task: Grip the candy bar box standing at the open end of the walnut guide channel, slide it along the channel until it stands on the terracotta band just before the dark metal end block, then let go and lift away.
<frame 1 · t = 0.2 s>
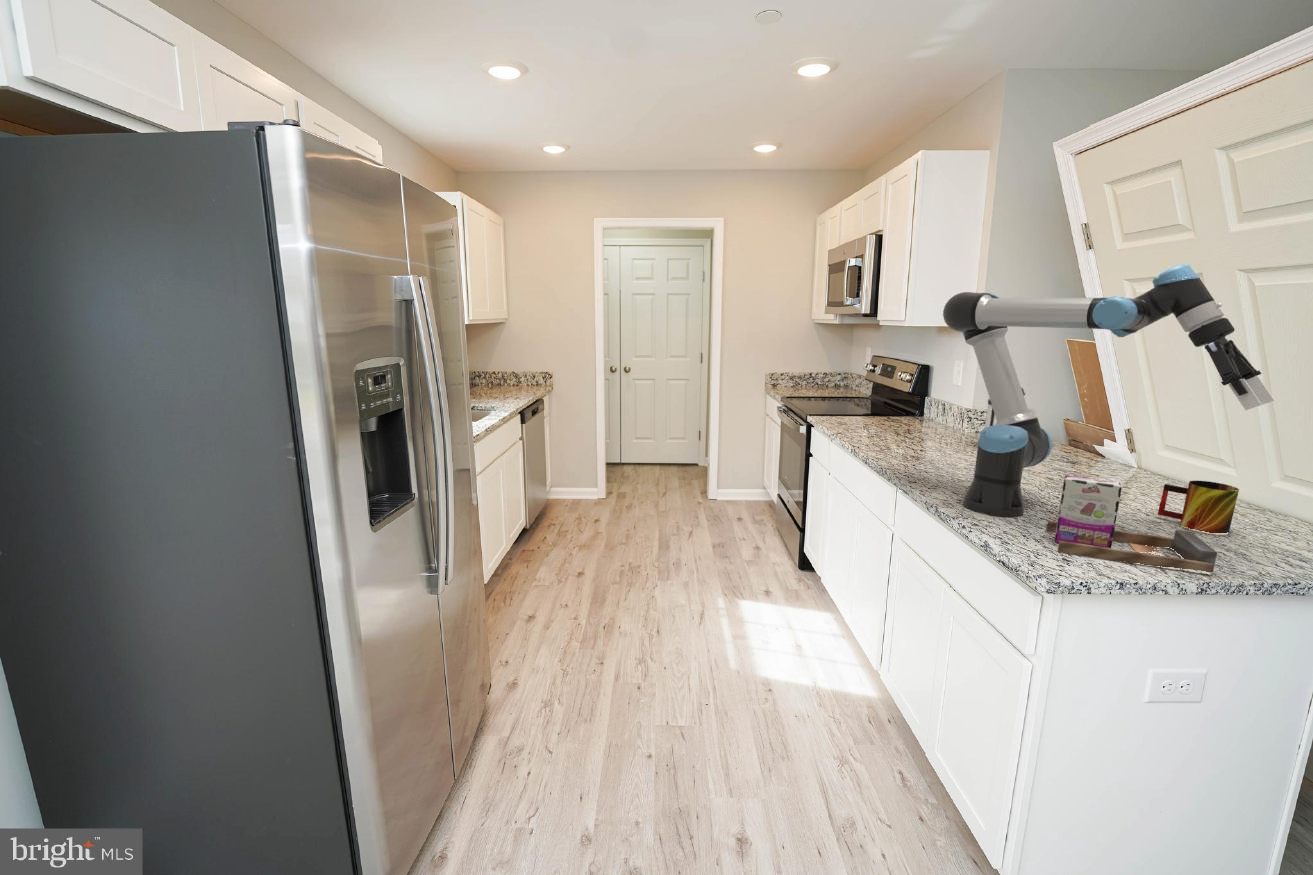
hand: (1260, 405, 134), 35 cm above the countertop, tool tilted 35°, fingers open, 13 cm apart
candy bar box: (1080, 545, 144), on the countertop
mug: (1193, 528, 159), on the countertop
guide channel: (1121, 550, 141), on the countertop
coffee press: (999, 452, 244), on the countertop
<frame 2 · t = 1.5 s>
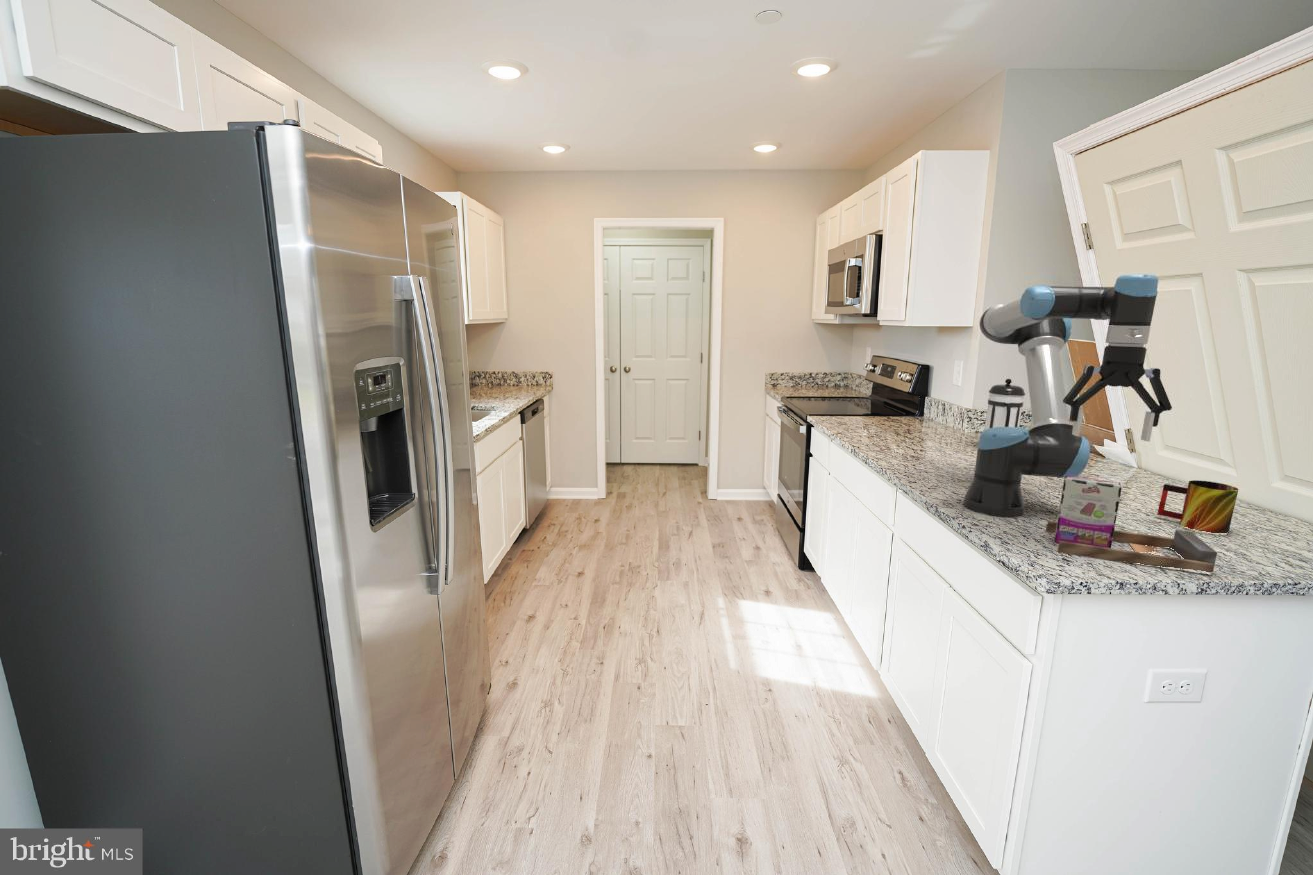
hand: (1109, 437, 138), 27 cm above the countertop, tool pointing down, fingers open, 13 cm apart
nothing on the countertop moved.
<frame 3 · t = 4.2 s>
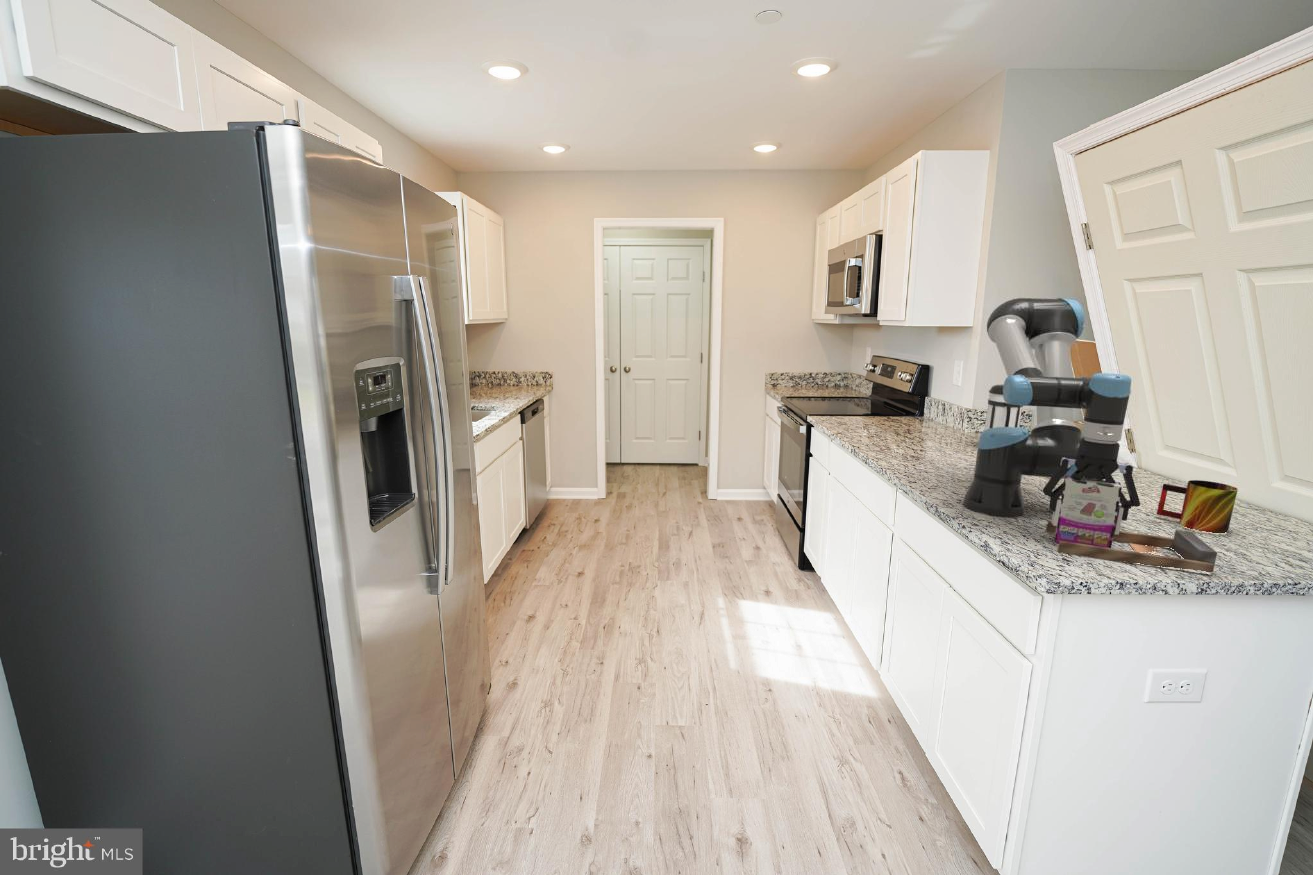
hand: (1084, 528, 143), 4 cm above the countertop, tool pointing down, fingers closed on candy bar box, 12 cm apart
candy bar box: (1081, 545, 144), on the countertop, touching gripper
everything else where it was.
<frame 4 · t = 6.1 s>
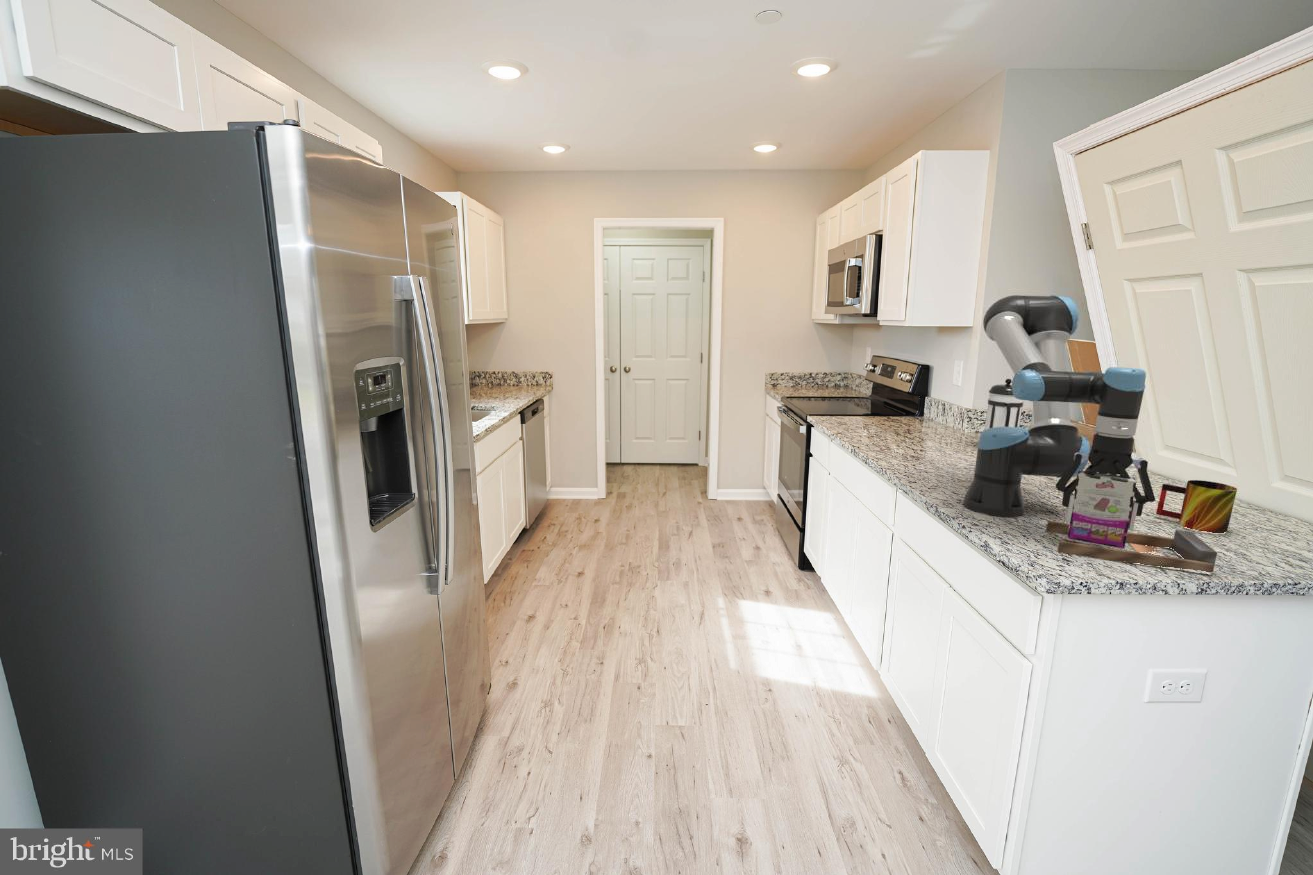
hand: (1097, 524, 142), 6 cm above the countertop, tool pointing down, fingers closed on candy bar box, 11 cm apart
candy bar box: (1094, 541, 143), point 1 cm above the countertop, touching gripper
everything else where it was.
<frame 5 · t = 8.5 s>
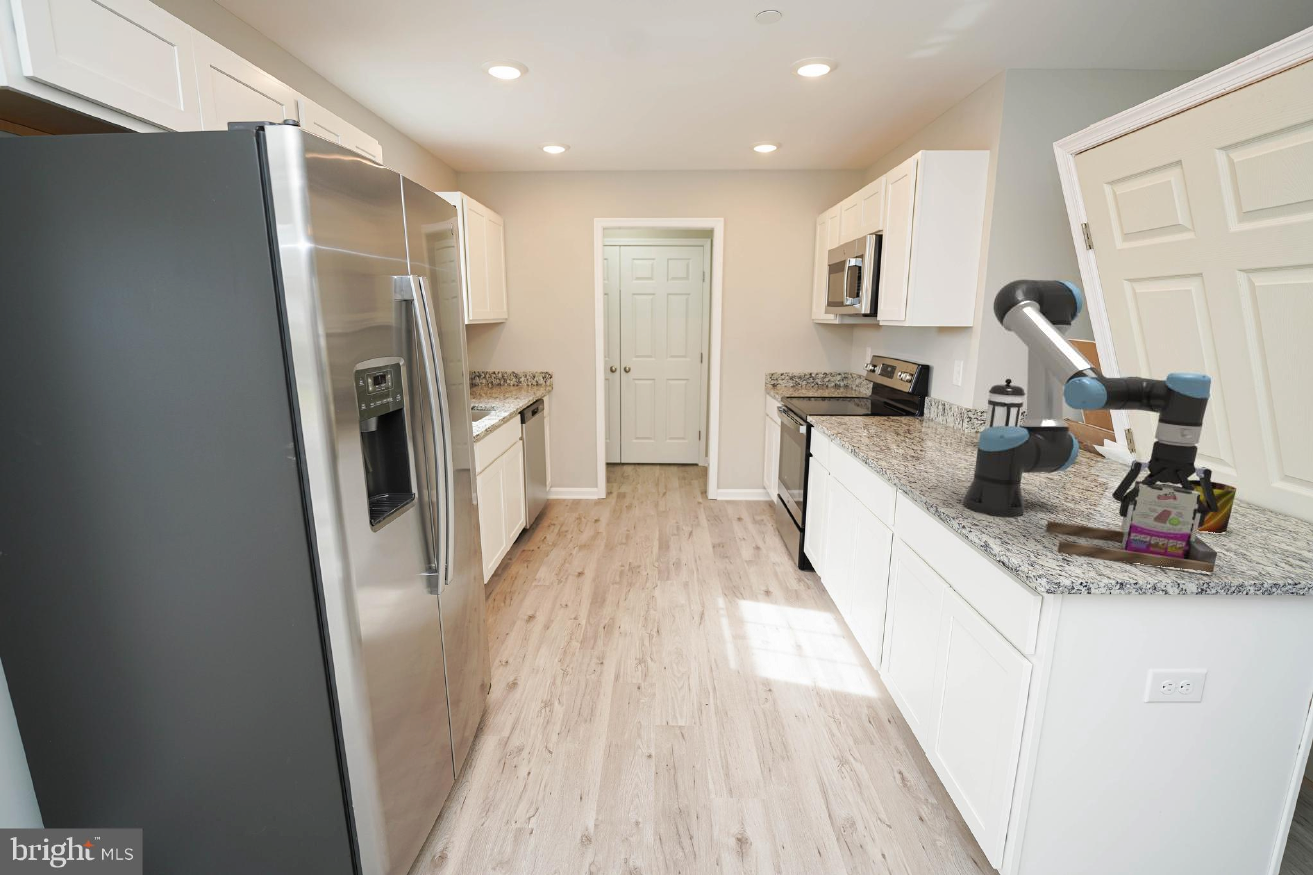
hand: (1156, 534, 137), 5 cm above the countertop, tool pointing down, fingers closed on candy bar box, 11 cm apart
candy bar box: (1151, 554, 139), touching gripper
everything else where it was.
when the fingers open (5 cm above the countertop, at t = 9.0 s): candy bar box stays where it is, resting on guide channel.
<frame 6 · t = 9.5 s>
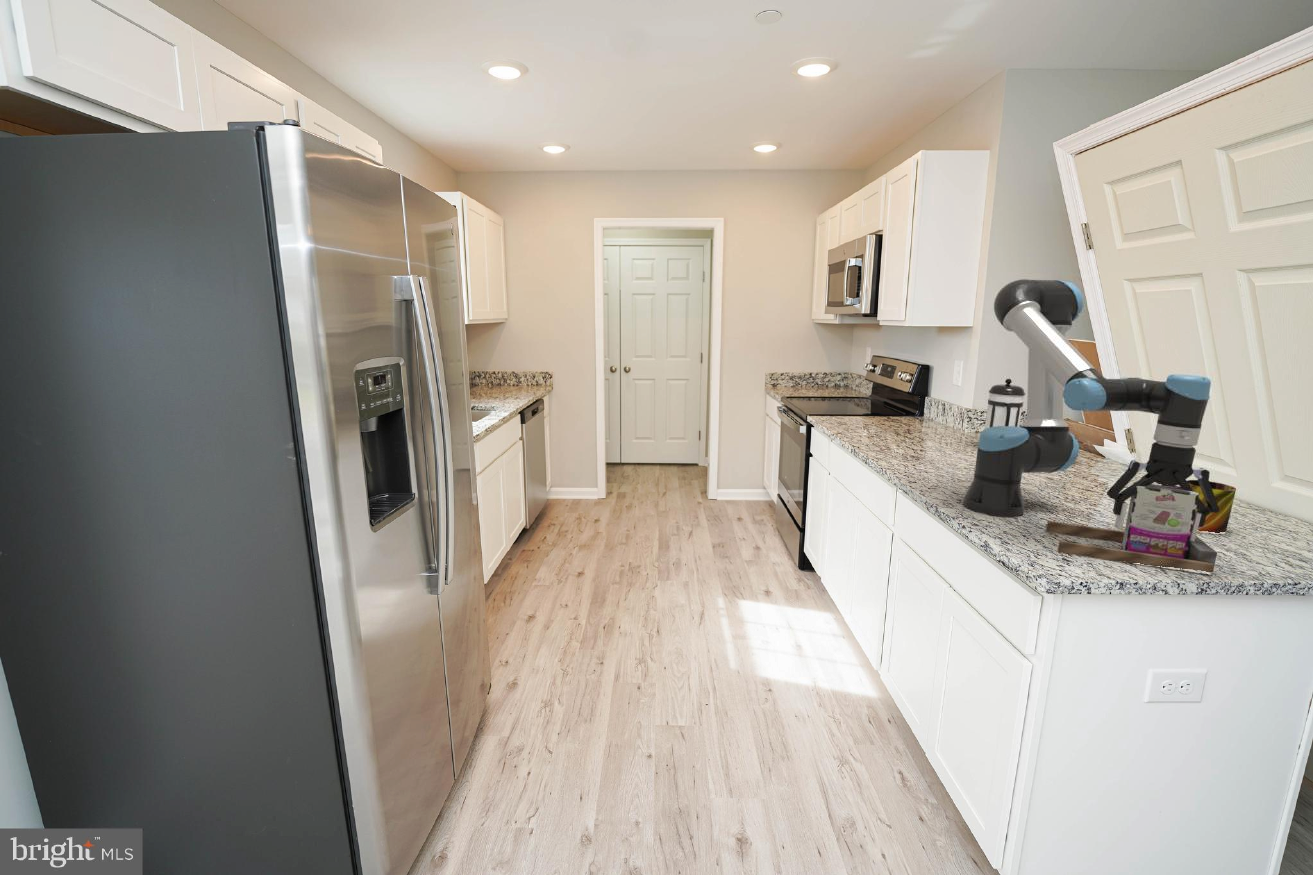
hand: (1153, 533, 137), 5 cm above the countertop, tool pointing down, fingers open, 13 cm apart
candy bar box: (1151, 555, 139), resting on guide channel
everything else where it was.
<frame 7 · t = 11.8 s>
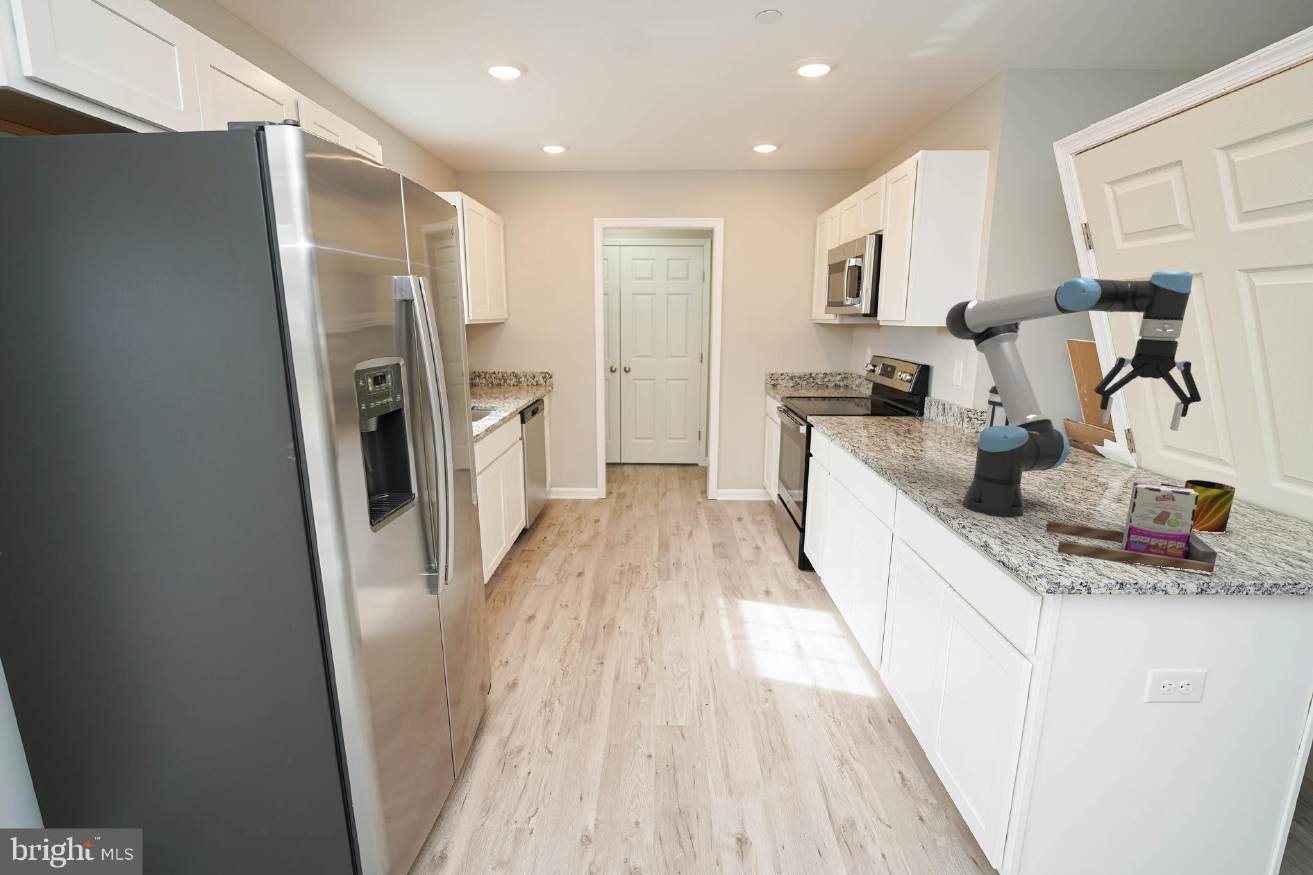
hand: (1138, 426, 146), 28 cm above the countertop, tool pointing down, fingers open, 13 cm apart
nothing on the countertop moved.
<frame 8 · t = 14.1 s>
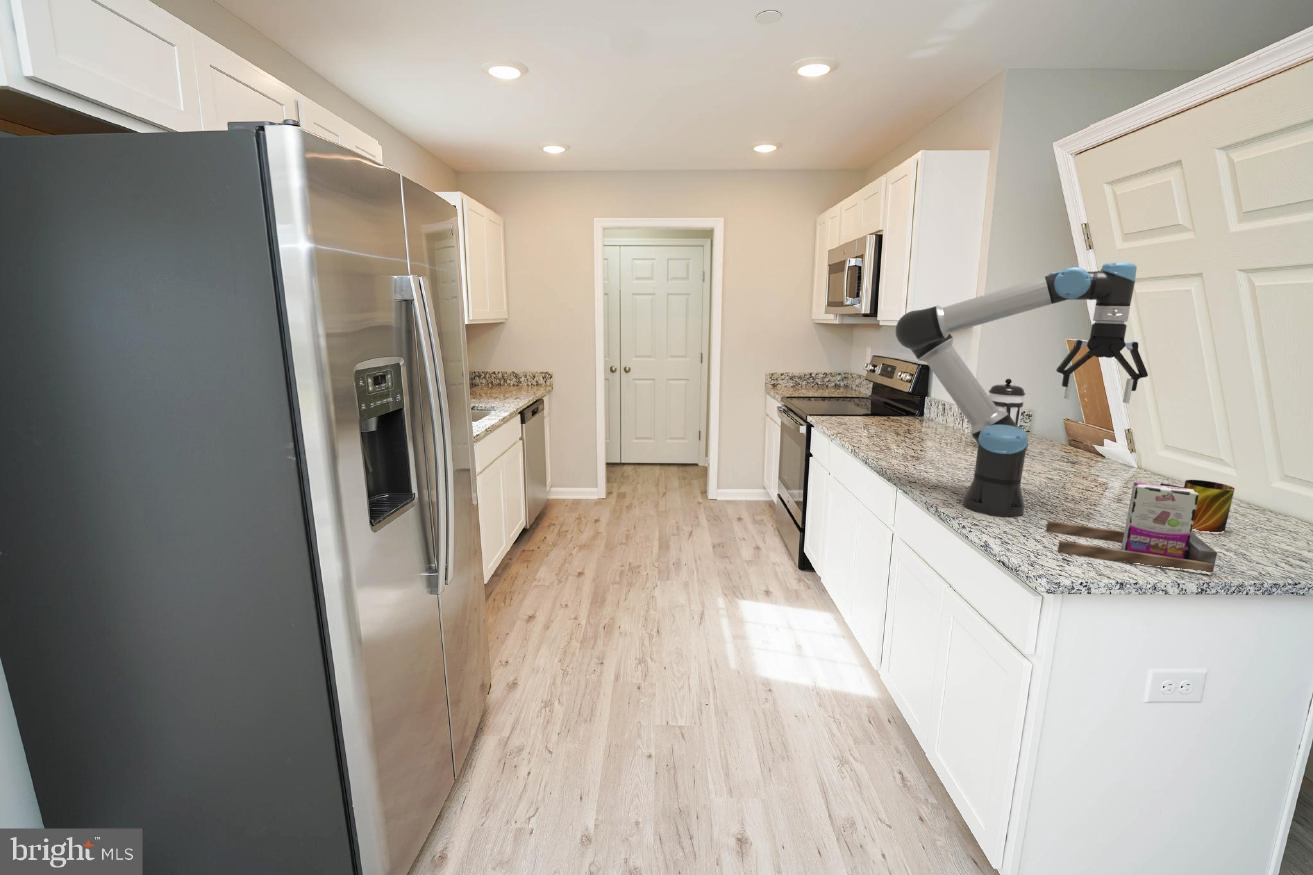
hand: (1095, 401, 164), 32 cm above the countertop, tool pointing down, fingers open, 13 cm apart
nothing on the countertop moved.
at the end: candy bar box tilted 0°; the gripper is holding nothing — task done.
